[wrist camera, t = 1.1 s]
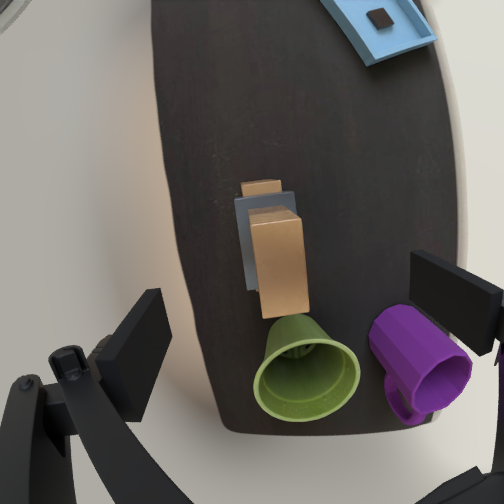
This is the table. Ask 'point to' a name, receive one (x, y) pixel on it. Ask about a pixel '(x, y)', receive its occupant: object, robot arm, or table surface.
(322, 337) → the plant pot
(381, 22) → the dark grey flat block
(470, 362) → the mug
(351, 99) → the table surface
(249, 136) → the table surface
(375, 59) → the pan
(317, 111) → the table surface
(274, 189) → the square wooden block
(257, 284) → the brush
